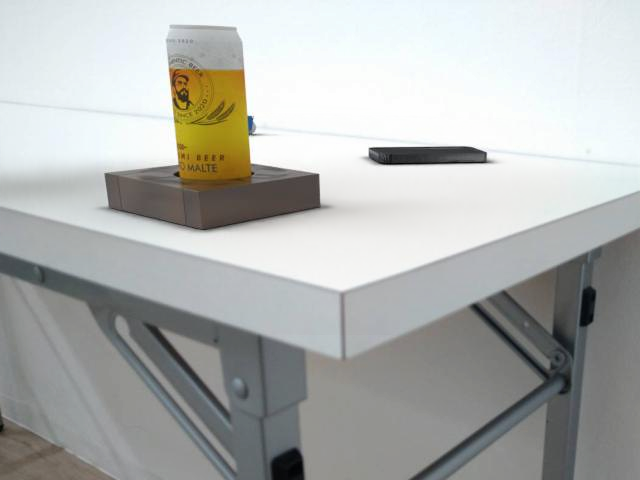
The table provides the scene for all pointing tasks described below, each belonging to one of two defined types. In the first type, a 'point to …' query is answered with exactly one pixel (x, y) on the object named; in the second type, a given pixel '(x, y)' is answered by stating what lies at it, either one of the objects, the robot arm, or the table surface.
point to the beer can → (209, 101)
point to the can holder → (212, 195)
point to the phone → (427, 154)
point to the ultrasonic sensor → (251, 125)
